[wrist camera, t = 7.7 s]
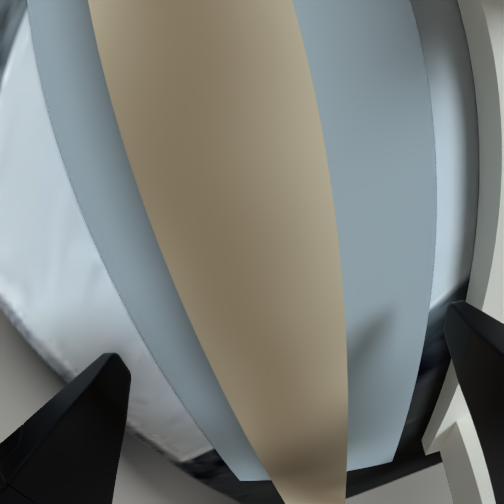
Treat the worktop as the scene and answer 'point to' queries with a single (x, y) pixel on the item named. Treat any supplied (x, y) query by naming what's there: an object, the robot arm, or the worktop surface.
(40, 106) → the worktop surface
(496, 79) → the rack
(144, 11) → the rail
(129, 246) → the mat
